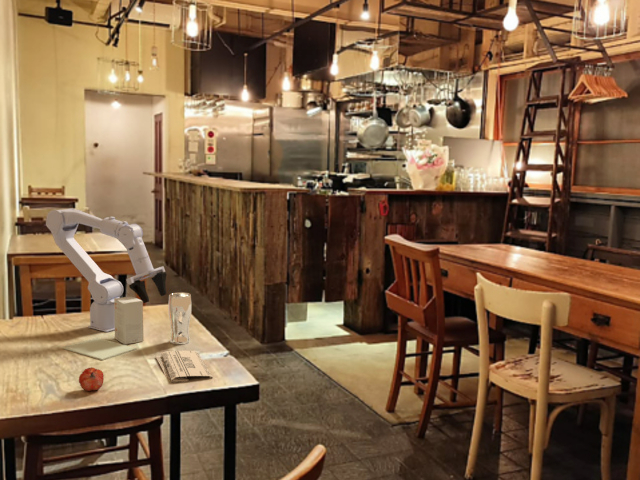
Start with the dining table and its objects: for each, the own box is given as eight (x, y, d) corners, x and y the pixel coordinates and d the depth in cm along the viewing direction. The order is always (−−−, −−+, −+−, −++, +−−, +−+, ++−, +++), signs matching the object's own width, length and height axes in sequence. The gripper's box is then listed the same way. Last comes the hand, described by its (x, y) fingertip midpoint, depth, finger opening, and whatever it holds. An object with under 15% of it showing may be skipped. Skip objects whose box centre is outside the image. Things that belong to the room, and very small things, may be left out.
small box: (144, 341, 180) (143, 300, 178) (123, 345, 176) (123, 303, 174) (133, 335, 186) (133, 295, 184) (114, 338, 182) (113, 298, 180)
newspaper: (154, 359, 166) (155, 350, 166) (197, 358, 171) (198, 350, 170) (164, 387, 145) (165, 377, 145) (212, 386, 150) (213, 376, 149)
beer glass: (195, 339, 183) (195, 293, 181) (183, 346, 176) (183, 298, 174) (176, 337, 185) (176, 291, 183) (164, 343, 178) (163, 296, 176)
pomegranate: (78, 394, 142) (75, 385, 136) (81, 372, 145) (79, 362, 139) (102, 395, 143) (101, 386, 137) (105, 373, 146) (104, 363, 140)
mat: (62, 348, 171) (62, 347, 171) (96, 338, 181) (96, 337, 181) (102, 360, 162) (102, 359, 162) (136, 349, 172) (136, 348, 172)
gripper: (130, 262, 179) (146, 302, 179) (164, 251, 191) (179, 289, 192) (117, 267, 183) (132, 307, 183) (151, 256, 195) (165, 294, 195)
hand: (155, 298), depth 188 cm, fingers open, 7 cm apart
